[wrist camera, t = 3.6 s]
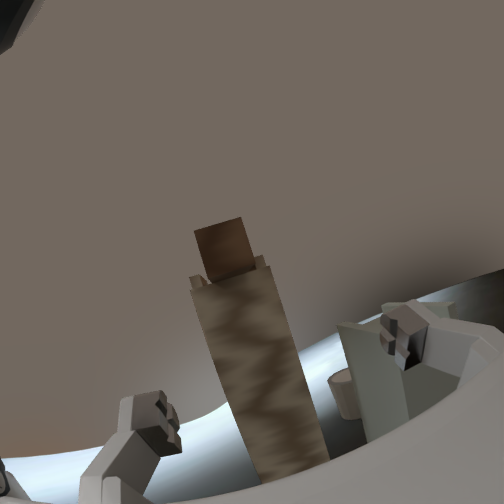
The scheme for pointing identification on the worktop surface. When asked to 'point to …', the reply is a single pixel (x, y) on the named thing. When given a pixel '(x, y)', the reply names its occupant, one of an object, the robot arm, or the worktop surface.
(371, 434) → the block
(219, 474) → the worktop surface
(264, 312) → the shelf block
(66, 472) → the worktop surface
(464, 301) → the worktop surface
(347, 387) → the grey brown short cylinder
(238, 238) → the walnut bar
